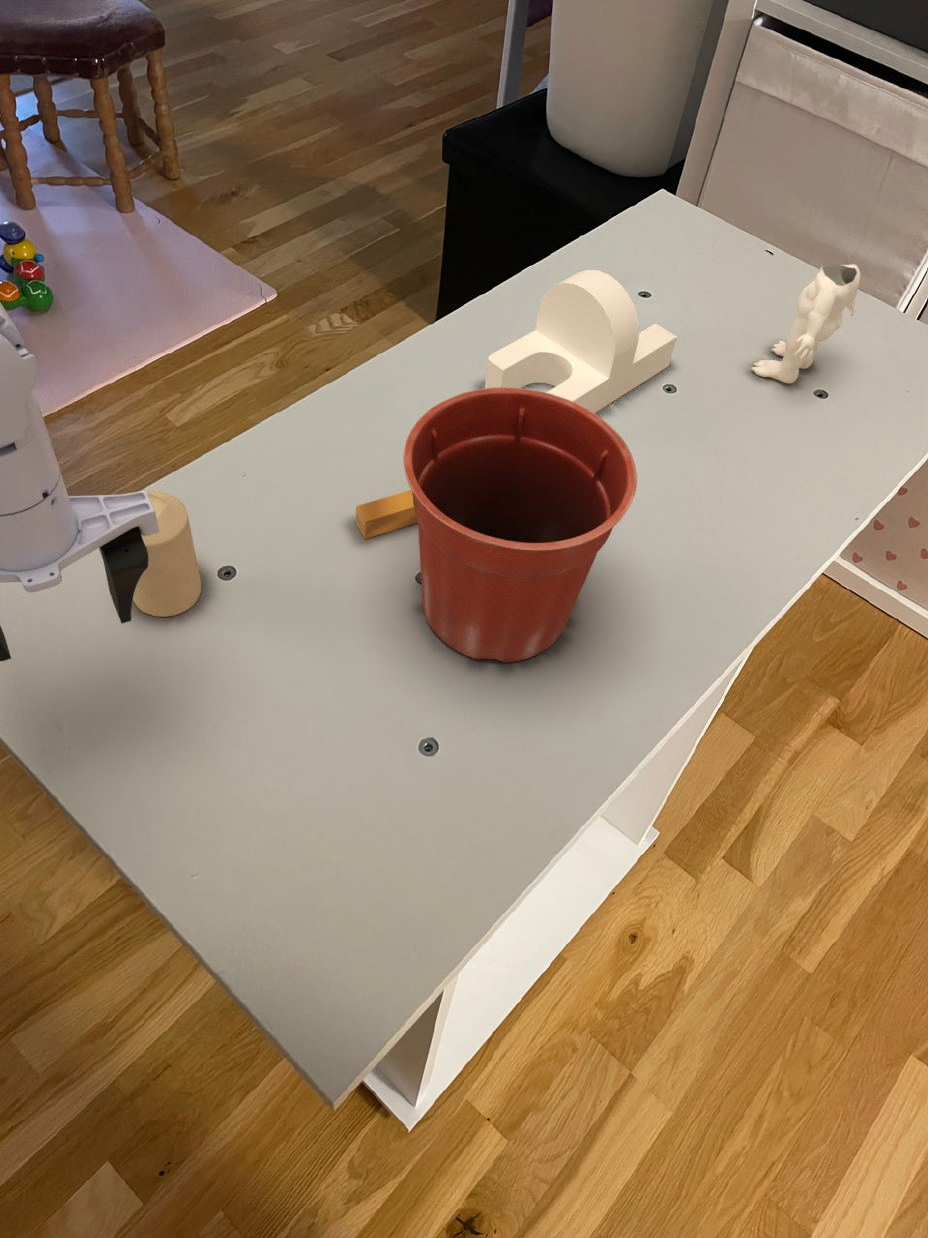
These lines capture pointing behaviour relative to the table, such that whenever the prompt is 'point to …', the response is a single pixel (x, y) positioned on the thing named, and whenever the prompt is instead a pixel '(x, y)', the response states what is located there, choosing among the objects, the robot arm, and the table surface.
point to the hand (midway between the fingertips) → (63, 629)
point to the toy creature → (813, 321)
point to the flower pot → (511, 514)
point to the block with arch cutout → (584, 344)
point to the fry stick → (386, 514)
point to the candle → (169, 562)
